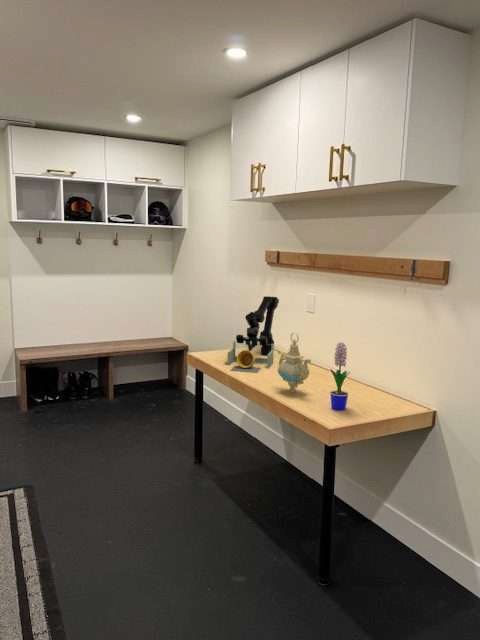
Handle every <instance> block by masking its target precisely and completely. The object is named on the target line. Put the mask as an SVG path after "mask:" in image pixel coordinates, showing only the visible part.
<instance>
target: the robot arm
mask: <svg viewBox="0 0 480 640" xmlns="http://www.w3.org/2000/svg"><path fill="white" fill-rule="evenodd" d="M279 302H280V300H279V298H278V297H277V296H263V298H262V301H261V303H260V304H259V307H258V309H257V310H255V311H250V312H249V313H247V314H246V315H245V317H244V318H245V320H246V322H247V324H248V326H249V327H247V328H246V336H244V334H237V335H236V337H235V339H236V343H237V344H244V343H245V345H246V346H247V348H248V349H247V350H248V351H250V352H252V350H253V349H254V348H256V346H260V354H261V356H267V355H268V354H269V353H270V351H271V345H272V344H274V345H275V341H274V338H273V333H272V331H271V330H272V328H273V327H272V326H273V320H274V314H275V310H276V309H277V308H278V305H279ZM265 314H266V315H265ZM263 322H264V327H263V330H262V331H260V324H262V323H263ZM259 332H260V334H259ZM258 334H259V337H258ZM258 344H259V345H258Z"/></svg>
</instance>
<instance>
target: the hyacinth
mask: <svg viewBox="0 0 480 640" xmlns="http://www.w3.org/2000/svg"><path fill="white" fill-rule="evenodd" d="M347 348H348V347H347V345H346V344H345V343H344V342H338V343H337V344H336V347H335V349H334V350H335V351H334V365H335V366H336V367H339V368H338V369H336V372H335V371H334V370H333V369H332V368H330V372H331V374H332V376H333V379H334V381H335V385H336V387H337V388H336V389H335V390H331V391H330V392H329V394H330V395H329V396H330V407H331V409H332V410H334V411H340V410H341V411H345V410H346V408H347V403H348V396H349V392H348V391H345V390H342V387H343V384H344V382H345V379H346V378H347V377H348V376H349V375H350V373H351V371H349V372H348V371H347V370H344V371H343V372H342V371H341V370H342V369H341V368H342V367H344V368H346V365H347V362H346V361H347V359H348V358H347V356H348V355H347V353H348V351H347ZM341 372H342V373H341Z"/></svg>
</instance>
